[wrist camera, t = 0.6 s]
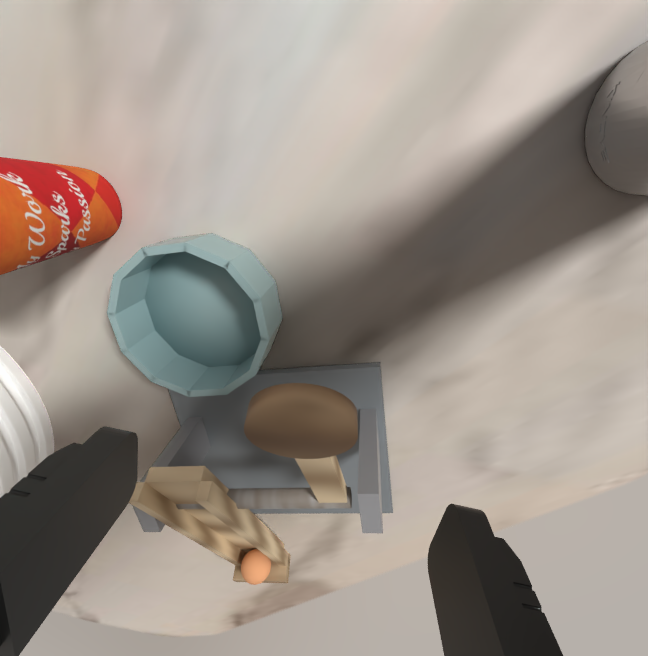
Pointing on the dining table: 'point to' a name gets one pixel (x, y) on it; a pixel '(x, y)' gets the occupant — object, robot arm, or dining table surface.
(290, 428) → the lever
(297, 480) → the stand
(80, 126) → the dining table surface
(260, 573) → the ball
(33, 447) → the plate stack
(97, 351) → the dining table surface
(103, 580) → the dining table surface
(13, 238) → the paper cup
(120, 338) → the bowl
